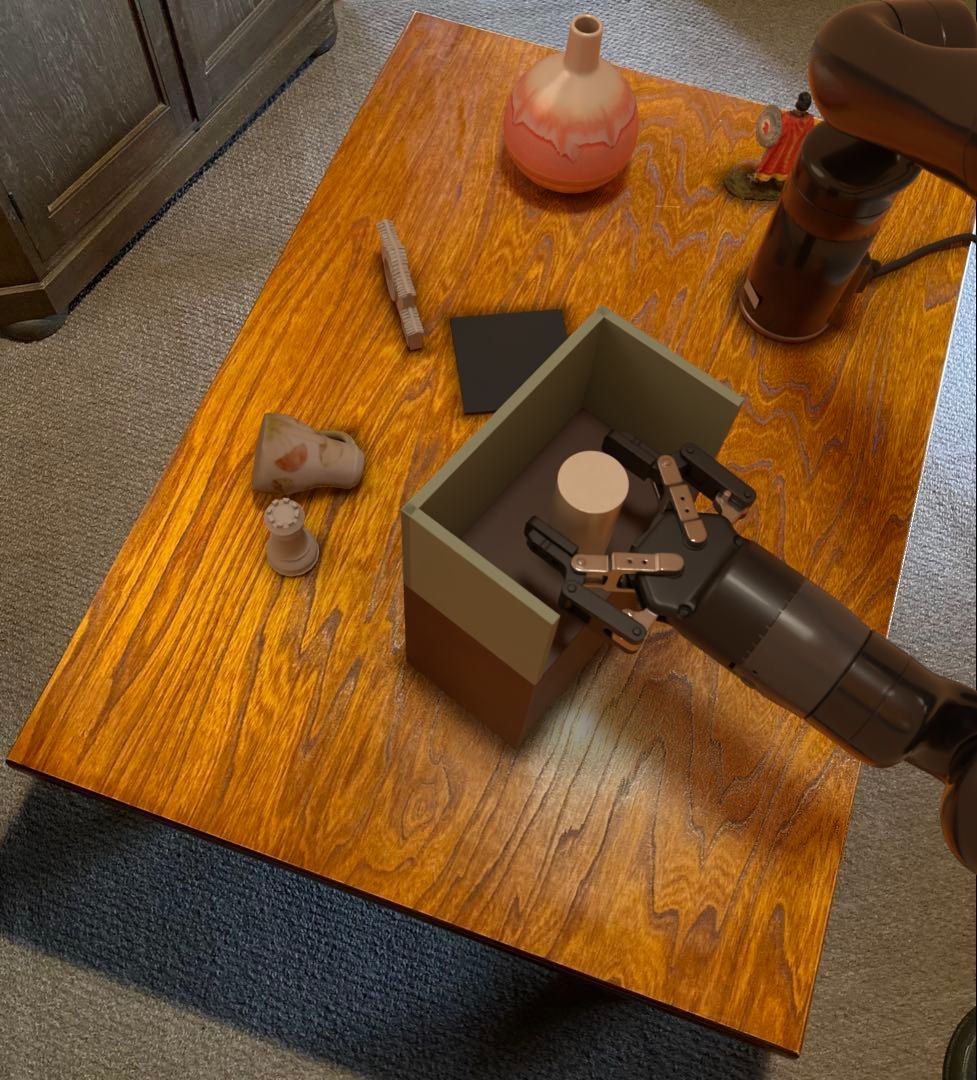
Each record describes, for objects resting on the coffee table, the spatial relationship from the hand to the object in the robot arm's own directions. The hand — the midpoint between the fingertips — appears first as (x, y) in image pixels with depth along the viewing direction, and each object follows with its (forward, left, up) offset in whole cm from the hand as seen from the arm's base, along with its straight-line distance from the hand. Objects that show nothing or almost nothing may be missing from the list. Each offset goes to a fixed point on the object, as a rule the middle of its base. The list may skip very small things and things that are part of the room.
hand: (567, 480), depth 71 cm
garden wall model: (+8, -34, -23) cm, 42 cm away
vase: (-11, -50, -23) cm, 56 cm away
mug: (+18, -16, -23) cm, 33 cm away
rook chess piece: (+20, -8, -23) cm, 31 cm away
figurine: (-32, -46, -23) cm, 61 cm away
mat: (-2, -26, -23) cm, 35 cm away
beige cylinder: (-1, +1, -7) cm, 7 cm away
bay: (0, 0, -23) cm, 23 cm away
